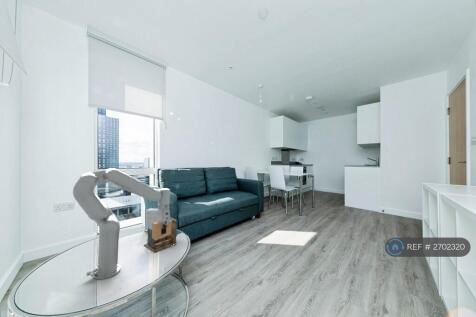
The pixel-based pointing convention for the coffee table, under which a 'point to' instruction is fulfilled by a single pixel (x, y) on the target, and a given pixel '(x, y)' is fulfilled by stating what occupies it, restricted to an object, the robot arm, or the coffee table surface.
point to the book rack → (162, 239)
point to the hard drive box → (150, 218)
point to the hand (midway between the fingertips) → (161, 232)
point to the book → (157, 230)
